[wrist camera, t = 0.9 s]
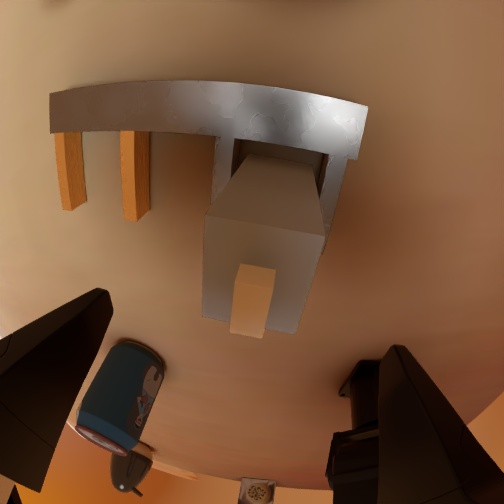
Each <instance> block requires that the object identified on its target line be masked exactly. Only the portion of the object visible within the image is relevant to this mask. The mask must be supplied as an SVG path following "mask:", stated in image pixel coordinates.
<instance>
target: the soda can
mask: <svg viewBox="0 0 504 504" xmlns="http://www.w3.org/2000/svg"><path fill="white" fill-rule="evenodd" d="M163 379H164V371H163V366H162V362H161V360H160V358H159V357H158V356H157V355H156V354H155V353H154V352H153V351H151V350H150V349H149V348H147V347H145V346H143V345H141V344H139V343H136V342H131V341H125V342H122V343H120V344H117V345H115V346H113V347H112V348H111V349H110V351H109V353H108V354H107V356H106V358H105V360H104V361H103V363H102V365H101V367H100V369H99V370H98V372H97V374H96V376H95V377H94V379H93V381H92V383H91V385H90V387H89V388H88V390H87V392H86V394H85V396H84V398H83V400H82V402H81V403H80V405H79V407H78V409H77V411H76V420H77V425H76V426H75V430H76V431H77V432H78V433H79V434H80V435H82V436H83V437H84V438H86V439H87V440H89V441H90V442H92V443H94V444H96V445H97V446H99V447H101V448H103V449H105V450H107V451H110V452H112V453H115V454H117V455H121V456H127V452H128V451H130V450H131V449H132V448H134V447H135V446H136V445H137V444H138V441H139V439H140V436H141V434H142V431H143V429H144V426H145V424H146V421H147V418H148V416H149V413H150V411H151V408H152V406H153V403H154V401H155V398H156V396H157V394H158V391H159V389H160V386H161V384H162V381H163Z"/></svg>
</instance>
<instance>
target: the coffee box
mask: <svg viewBox="0 0 504 504" xmlns="http://www.w3.org/2000/svg"><path fill="white" fill-rule="evenodd" d="M275 487H276V481H275V480H261V479H250V478H242V481H241V487H240V493H239V499H238V504H273V502H274V494H275Z"/></svg>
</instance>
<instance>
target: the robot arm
mask: <svg viewBox="0 0 504 504" xmlns="http://www.w3.org/2000/svg"><path fill="white" fill-rule="evenodd" d="M112 316H113V306H112V302H111V298H110V294H109V292H108V291H107V290H105V289H102V288H95V289H93V290H91V291H89V292H87V293H85V294H83V295H81V296H79V297H77V298H76V299H74V300H72V301H70V302H68V303H66V304H64V305H62V306H60V307H59V308H57V309H55V310H53V311H51V312H49V313H47V314H46V315H44V316H42V317H40V318H38V319H36V320H35V321H33V322H31V323H29V324H27V325H26V326H24V327H22V328H20V329H18V330H17V331H15V332H13V334H10V335H8V336H6V337H4V338H3V339H1V340H0V504H22V502H21V499H20V497H19V494H18V491H17V488H16V485H15V482H16V483H18V484H21V485H23V486H25V487H27V488H29V489H31V490H34V491H36V492H38V493H40V492H41V489H42V486H43V483H44V480H45V477H46V474H47V471H48V468H49V465H50V462H51V459H52V457H53V454H54V451H55V448H56V446H57V443H58V440H59V438H60V435H61V433H62V430H63V428H64V425H65V423H66V420H67V418H68V416H69V413H70V411H71V409H72V406H73V404H74V402H75V400H76V397H77V395H78V393H79V391H80V389H81V387H82V384H83V382H84V380H85V378H86V376H87V374H88V372H89V370H90V368H91V366H92V364H93V362H94V360H95V358H96V355H97V353H98V351H99V349H100V346H101V343H102V341H103V338H104V336H105V333H106V330H107V328H108V325H109V323H110V321H111V318H112ZM339 396H340V397H349V398H350V399H351V417H352V430H349V431H344V432H335V433H334V434H333V440H332V441H331V447H330V453H329V458H328V463H327V469H326V472H325V476H326V478H327V479H328V482H329V486H330V488H331V489H332V490H333V504H504V473H503V472H502V471H501V469H500V468H499V467H498V466H497V464H496V463H495V462H494V461H493V460H492V458H490V456H489V455H488V454H487V452H486V451H485V450H484V449H483V447H482V446H481V445H480V444H479V442H478V441H477V440H476V438H475V437H474V436H473V434H472V433H471V432H470V430H469V429H468V427H467V426H466V425H465V424H464V422H463V420H462V419H461V418H460V416H459V415H458V414H457V412H456V411H455V410H454V408H453V407H452V405H451V404H450V403H449V401H448V400H447V399H446V397H445V396H444V395H443V393H442V392H441V391H440V390H439V388H438V387H437V386H436V384H435V383H434V382H433V381H432V379H431V378H430V377H429V375H428V374H427V373H426V372H425V370H424V369H423V368H422V367H421V365H420V364H419V363H418V362H417V360H416V359H415V358H414V357H413V355H412V354H411V353H410V352H409V350H408V349H407V348H406V347H405V346H403V345H395V344H394V345H392V346H391V347H390V348H389V350H388V351H387V353H386V354H385V356H384V357H383V359H382V360H381V362H371V361H361V362H359V363H358V364H357V366H356V367H355V369H354V370H353V372H352V373H351V375H350V376H349V378H348V379H347V381H346V382H345V384H344V385H343V386H342V388H341V389H340V391H339Z"/></svg>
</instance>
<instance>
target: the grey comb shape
mask: <svg viewBox="0 0 504 504" xmlns="http://www.w3.org/2000/svg"><path fill="white" fill-rule="evenodd" d="M49 108H50V134H51V133H55V149H56V161H57V171H58V180H59V187H60V194H61V201H62V207H63V210H68V211H72V210H74V209H75V208H77V207H78V206H80V205H81V204H82V203H84V202H85V201H87V199H86V191H85V181H84V170H83V157H82V137H81V132H83V131H120V154H121V180H122V196H123V209H124V219H125V220H130V221H136V222H137V221H138V220H139V219H140V218H141V217H143V216H144V215H145V214H146V213H147V212H148V211H149V210H150V194H149V131H153V132H173V133H188V134H201V135H211V136H216V140H215V152H214V164H213V177H212V192H211V206H212V204H213V203H214V201H215V200H216V198H217V197H218V196H219V194H220V193H221V191H222V190H223V189H224V187H225V186H226V184H227V183H228V182H229V180H230V179H231V178H232V176H233V175H234V173H235V172H236V171H237V166H238V157H239V148H240V139H246V140H253V141H260V142H267V143H273V144H279V145H285V146H291V147H296V148H302V149H307V150H312V151H317V152H321V153H324V158H323V163H322V168H321V173H320V177H319V182H318V187H317V192H318V197H319V203H320V208H321V213H322V219H323V225H324V231H325V240H324V244H323V247H322V251H321V254H323V252H324V249H325V245H326V242H327V238H328V235H329V231H330V227H331V224H332V220H333V216H334V213H335V209H336V205H337V201H338V197H339V193H340V189H341V185H342V181H343V177H344V173H345V169H346V164H347V160H348V159H352V160H356V161H357V157H358V153H359V149H360V144H361V140H362V135H363V131H364V126H365V121H366V116H367V111H368V107H367V106H363V105H360V104H356V103H352V102H348V101H344V100H340V99H336V98H332V97H327V96H322V95H318V94H313V93H307V92H302V91H296V90H290V89H284V88H277V87H270V86H263V85H254V84H244V83H233V82H219V81H195V80H162V81H138V82H124V83H114V84H104V85H96V86H89V87H82V88H76V89H70V90H64V91H59V92H54V93H50V103H49Z"/></svg>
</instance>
